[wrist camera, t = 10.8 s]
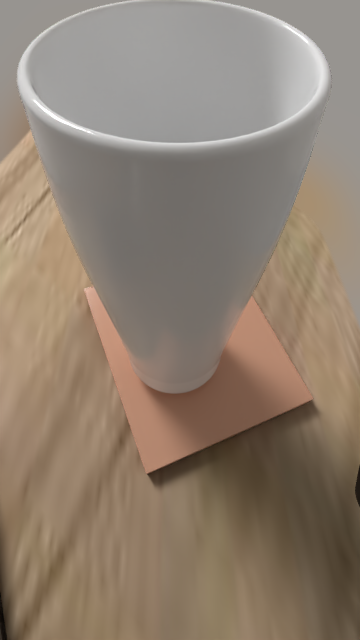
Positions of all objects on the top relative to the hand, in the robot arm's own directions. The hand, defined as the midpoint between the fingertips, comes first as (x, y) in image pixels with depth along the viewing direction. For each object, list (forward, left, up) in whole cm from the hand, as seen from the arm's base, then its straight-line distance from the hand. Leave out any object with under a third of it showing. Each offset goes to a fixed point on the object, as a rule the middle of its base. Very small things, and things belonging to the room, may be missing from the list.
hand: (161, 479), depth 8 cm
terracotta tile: (+7, -4, -11) cm, 14 cm away
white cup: (+6, -3, -11) cm, 13 cm away
